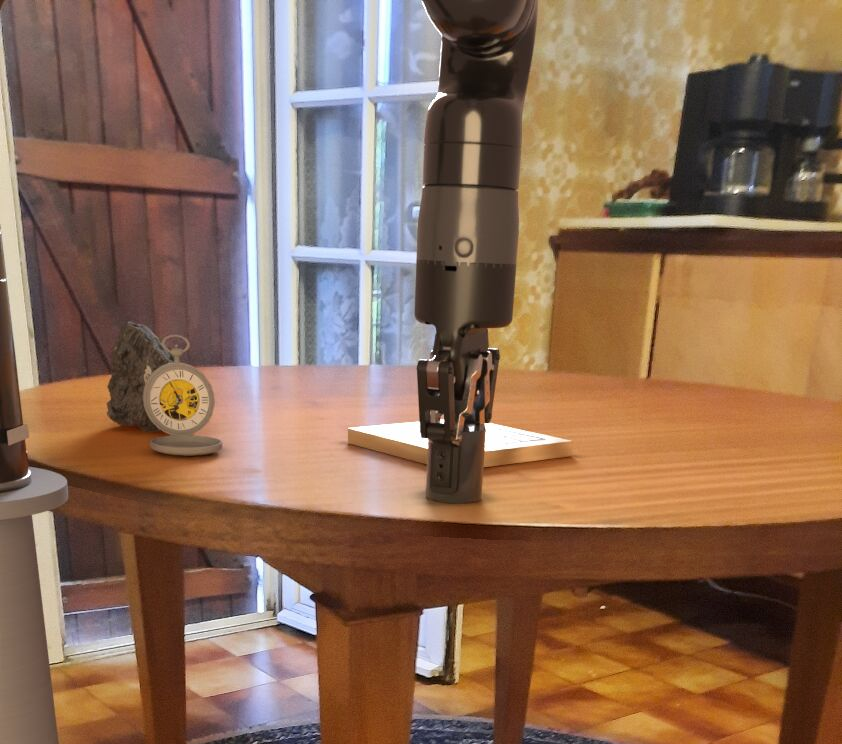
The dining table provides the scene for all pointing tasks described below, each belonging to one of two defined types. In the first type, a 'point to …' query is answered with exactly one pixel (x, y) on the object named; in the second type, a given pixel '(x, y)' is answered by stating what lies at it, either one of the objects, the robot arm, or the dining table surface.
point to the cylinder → (464, 467)
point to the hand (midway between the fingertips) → (454, 485)
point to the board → (499, 443)
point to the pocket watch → (180, 406)
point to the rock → (136, 376)
